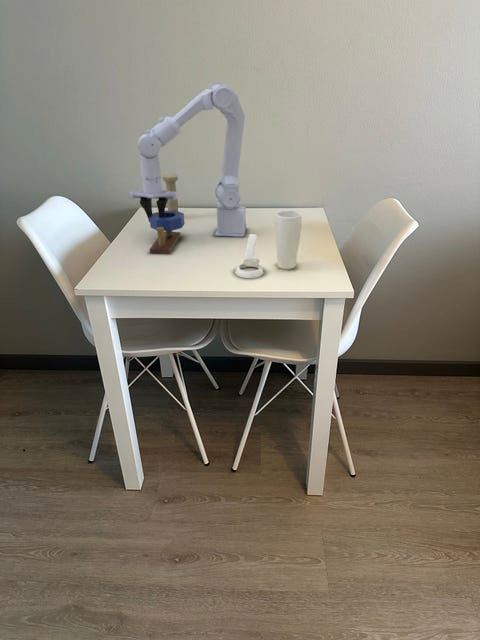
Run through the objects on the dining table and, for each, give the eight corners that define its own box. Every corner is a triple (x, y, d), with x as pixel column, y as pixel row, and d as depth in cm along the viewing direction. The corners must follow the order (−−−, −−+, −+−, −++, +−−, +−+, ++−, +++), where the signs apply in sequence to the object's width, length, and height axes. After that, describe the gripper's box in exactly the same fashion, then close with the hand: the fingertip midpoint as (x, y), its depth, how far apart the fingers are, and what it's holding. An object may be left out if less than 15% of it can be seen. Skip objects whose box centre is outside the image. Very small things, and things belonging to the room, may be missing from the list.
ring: (186, 220, 152) (185, 210, 150) (179, 231, 143) (178, 220, 141) (156, 220, 153) (155, 210, 151) (148, 230, 144) (146, 220, 142)
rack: (180, 236, 152) (179, 215, 149) (169, 254, 140) (167, 231, 136) (162, 235, 153) (160, 215, 149) (150, 253, 140) (147, 231, 137)
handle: (170, 221, 166) (166, 178, 158) (164, 216, 171) (160, 174, 163) (183, 219, 168) (179, 176, 160) (176, 214, 173) (173, 172, 165)
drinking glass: (292, 273, 127) (294, 219, 119) (270, 267, 130) (271, 215, 122) (302, 264, 132) (305, 212, 124) (281, 259, 135) (283, 208, 127)
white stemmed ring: (267, 243, 132) (271, 237, 125) (259, 284, 131) (263, 280, 124) (241, 237, 131) (243, 231, 124) (233, 279, 130) (235, 275, 123)
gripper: (123, 180, 138) (129, 224, 145) (171, 181, 136) (175, 226, 143) (131, 174, 144) (136, 217, 151) (177, 175, 142) (180, 218, 149)
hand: (156, 221), depth 147 cm, fingers closed on ring, 3 cm apart
